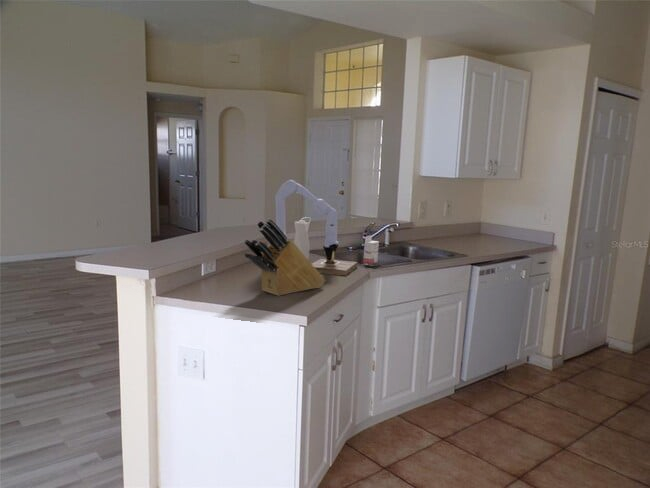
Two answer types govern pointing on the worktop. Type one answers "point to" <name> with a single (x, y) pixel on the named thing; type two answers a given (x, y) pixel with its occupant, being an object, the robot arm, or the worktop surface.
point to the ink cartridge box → (370, 250)
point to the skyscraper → (302, 236)
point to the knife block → (282, 263)
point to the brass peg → (331, 259)
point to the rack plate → (334, 267)
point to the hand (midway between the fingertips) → (330, 259)
